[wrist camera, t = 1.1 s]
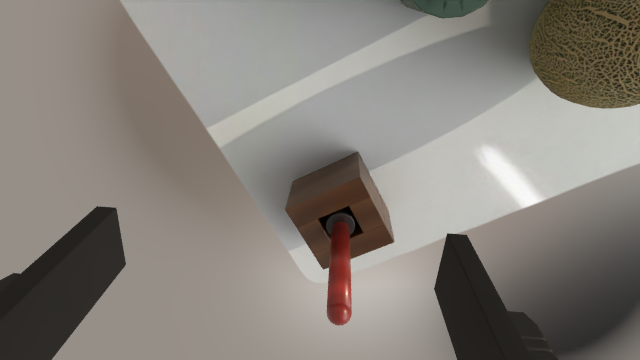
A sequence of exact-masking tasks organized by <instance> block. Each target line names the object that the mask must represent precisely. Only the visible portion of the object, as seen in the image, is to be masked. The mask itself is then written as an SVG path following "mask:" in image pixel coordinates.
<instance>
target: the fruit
mask: <svg viewBox="0 0 640 360" xmlns="http://www.w3.org/2000/svg"><path fill="white" fill-rule="evenodd" d="M530 60H531V64H532V67H533V69H534V72H535V73H536V74H537V76H538V77H539V79H540V80H541V81H542V82H543V84H544V85H545V86H546V87H547V88H548V89H549V90H550V91H551V92H553V93H554V94H556V95H557V96H559V97H561V98H563V99H565V100H568V101H570V102H573V103H577V104H581V105H584V106H588V107H595V108H621V107H629V106H633V105H637V104H640V0H550V1H549V2H548V3H547V4H546V6H545V7H544V9H543V10H542V12H541V14H540V15H539V17H538V19H537V21H536V23H535V25H534V28H533V31H532V35H531V39H530Z"/></svg>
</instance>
